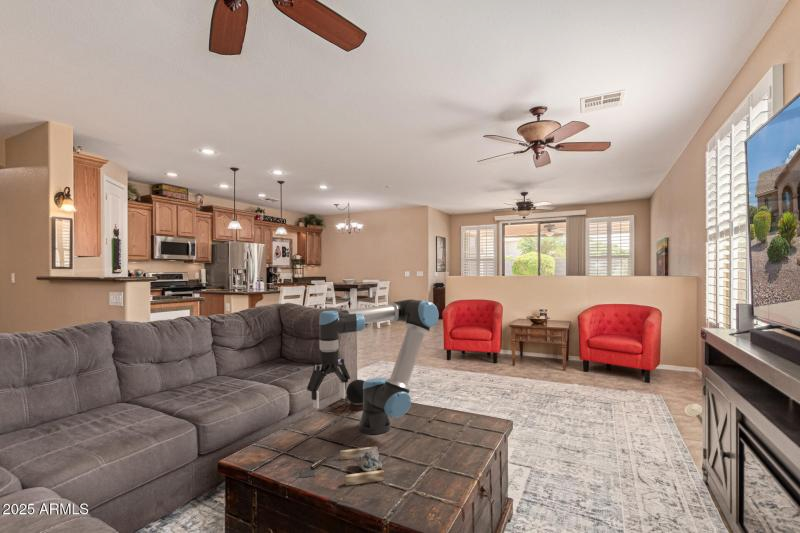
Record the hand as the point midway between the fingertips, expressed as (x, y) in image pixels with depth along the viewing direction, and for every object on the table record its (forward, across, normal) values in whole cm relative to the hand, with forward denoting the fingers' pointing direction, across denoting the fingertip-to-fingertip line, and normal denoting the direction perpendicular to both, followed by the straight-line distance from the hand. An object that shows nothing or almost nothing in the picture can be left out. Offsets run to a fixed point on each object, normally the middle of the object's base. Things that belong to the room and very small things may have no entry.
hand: (329, 402), depth 154 cm
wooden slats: (+23, -3, +15) cm, 27 cm away
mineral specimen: (+23, -5, +16) cm, 29 cm away
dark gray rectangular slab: (+22, +13, +2) cm, 26 cm away
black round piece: (+23, -46, -31) cm, 60 cm away
